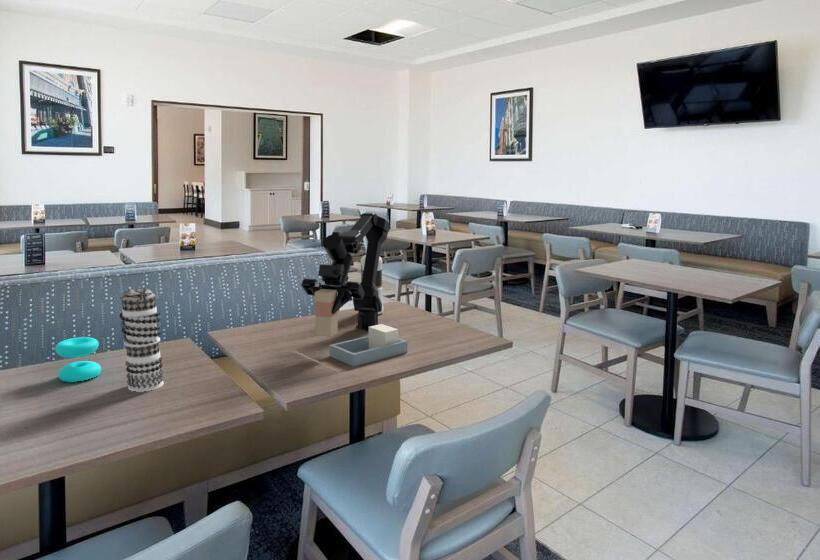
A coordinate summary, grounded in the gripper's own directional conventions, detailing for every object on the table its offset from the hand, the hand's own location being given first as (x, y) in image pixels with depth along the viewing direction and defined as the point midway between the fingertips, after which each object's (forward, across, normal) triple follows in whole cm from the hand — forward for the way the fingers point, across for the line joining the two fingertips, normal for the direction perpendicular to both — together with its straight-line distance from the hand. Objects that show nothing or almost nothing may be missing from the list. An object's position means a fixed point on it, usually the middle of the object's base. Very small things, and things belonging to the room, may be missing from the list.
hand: (324, 312), depth 170 cm
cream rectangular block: (+2, +15, +16) cm, 22 cm away
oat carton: (+4, 0, +6) cm, 7 cm away
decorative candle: (+35, -33, -16) cm, 51 cm away
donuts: (+36, -54, -16) cm, 67 cm away
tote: (+6, +12, +13) cm, 19 cm away
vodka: (-28, -7, +48) cm, 56 cm away
